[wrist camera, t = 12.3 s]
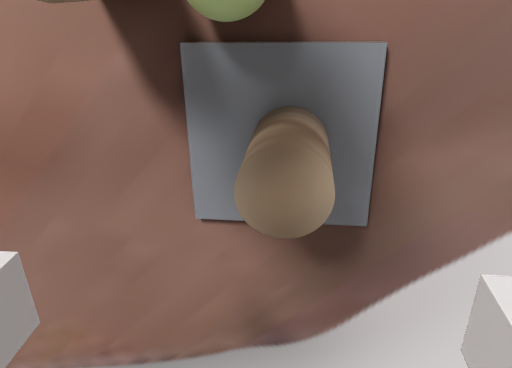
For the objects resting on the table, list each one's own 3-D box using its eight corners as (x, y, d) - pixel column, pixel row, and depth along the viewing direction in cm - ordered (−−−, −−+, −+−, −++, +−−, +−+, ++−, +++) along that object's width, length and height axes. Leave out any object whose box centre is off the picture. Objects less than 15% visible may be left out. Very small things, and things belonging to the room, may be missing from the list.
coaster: (197, 214, 28) (195, 218, 28) (182, 41, 24) (179, 43, 23) (365, 221, 27) (366, 226, 27) (385, 41, 22) (387, 42, 22)
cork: (254, 177, 26) (236, 237, 20) (251, 106, 24) (230, 147, 18) (326, 178, 25) (333, 240, 19) (329, 106, 24) (337, 147, 17)
